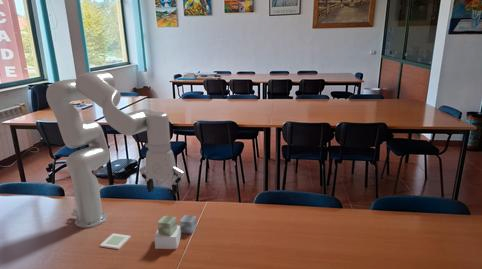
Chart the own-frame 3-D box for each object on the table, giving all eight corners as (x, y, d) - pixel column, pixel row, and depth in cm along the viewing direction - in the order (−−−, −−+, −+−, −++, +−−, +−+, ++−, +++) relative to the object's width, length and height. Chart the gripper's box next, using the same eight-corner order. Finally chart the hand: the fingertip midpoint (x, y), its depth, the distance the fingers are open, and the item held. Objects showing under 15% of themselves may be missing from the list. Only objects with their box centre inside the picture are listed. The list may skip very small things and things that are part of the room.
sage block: (158, 234, 121) (157, 222, 120) (165, 227, 126) (164, 215, 124) (170, 236, 120) (169, 224, 118) (177, 229, 124) (176, 217, 123)
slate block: (180, 232, 131) (179, 221, 130) (185, 225, 136) (184, 214, 134) (192, 233, 130) (191, 222, 128) (196, 227, 134) (196, 216, 133)
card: (100, 246, 122) (99, 244, 122) (112, 234, 130) (112, 233, 130) (118, 249, 121) (118, 247, 120) (130, 237, 128) (130, 235, 128)
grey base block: (155, 249, 121) (154, 237, 119) (160, 236, 128) (159, 225, 127) (177, 249, 121) (176, 237, 119) (181, 236, 128) (180, 225, 127)
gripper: (131, 148, 114) (136, 194, 118) (177, 152, 109) (180, 199, 114) (143, 142, 121) (146, 185, 125) (186, 146, 117) (189, 190, 121)
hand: (163, 192), depth 120 cm, fingers open, 9 cm apart
